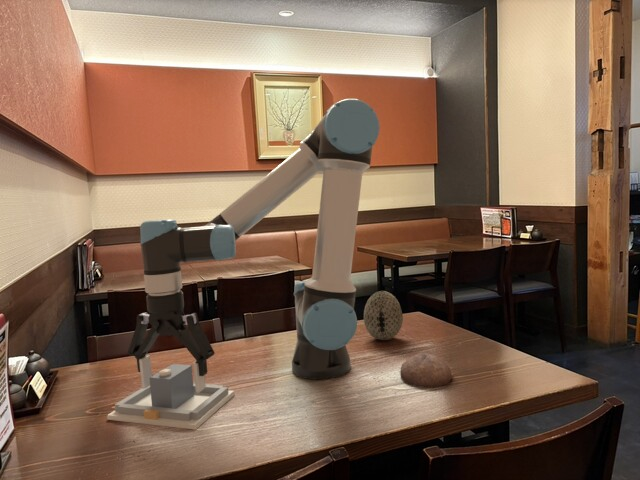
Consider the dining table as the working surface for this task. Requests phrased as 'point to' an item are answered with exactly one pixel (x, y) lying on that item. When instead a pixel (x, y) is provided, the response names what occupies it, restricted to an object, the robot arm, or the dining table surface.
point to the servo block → (172, 386)
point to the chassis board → (184, 416)
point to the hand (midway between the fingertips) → (173, 388)
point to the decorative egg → (383, 316)
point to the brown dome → (425, 371)
